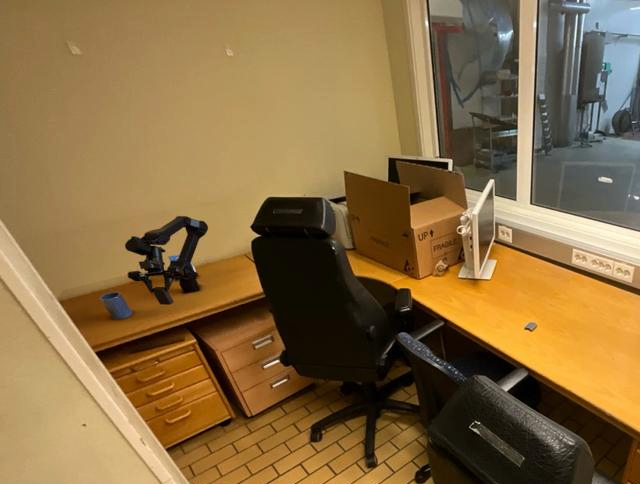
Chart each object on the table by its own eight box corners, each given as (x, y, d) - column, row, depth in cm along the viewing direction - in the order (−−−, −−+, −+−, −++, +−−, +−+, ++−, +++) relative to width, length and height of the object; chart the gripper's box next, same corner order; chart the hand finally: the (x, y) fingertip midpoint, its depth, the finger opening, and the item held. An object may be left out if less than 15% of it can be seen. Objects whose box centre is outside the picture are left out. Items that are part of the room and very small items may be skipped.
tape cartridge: (177, 281, 203) (166, 259, 196) (178, 278, 206) (167, 256, 199) (197, 277, 207) (187, 256, 200) (198, 275, 210) (188, 253, 203)
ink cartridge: (174, 302, 178) (166, 286, 174) (170, 304, 176) (162, 289, 172) (163, 302, 178) (154, 286, 174) (160, 304, 176) (151, 288, 172)
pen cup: (133, 310, 180) (121, 290, 174) (130, 317, 175) (118, 297, 169) (114, 313, 177) (101, 294, 171) (110, 320, 172) (97, 301, 166)
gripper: (116, 254, 164) (121, 289, 162) (169, 249, 169) (174, 283, 168) (133, 264, 174) (137, 297, 173) (182, 259, 180) (187, 290, 178)
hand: (159, 292), depth 172 cm, fingers closed on ink cartridge, 5 cm apart
